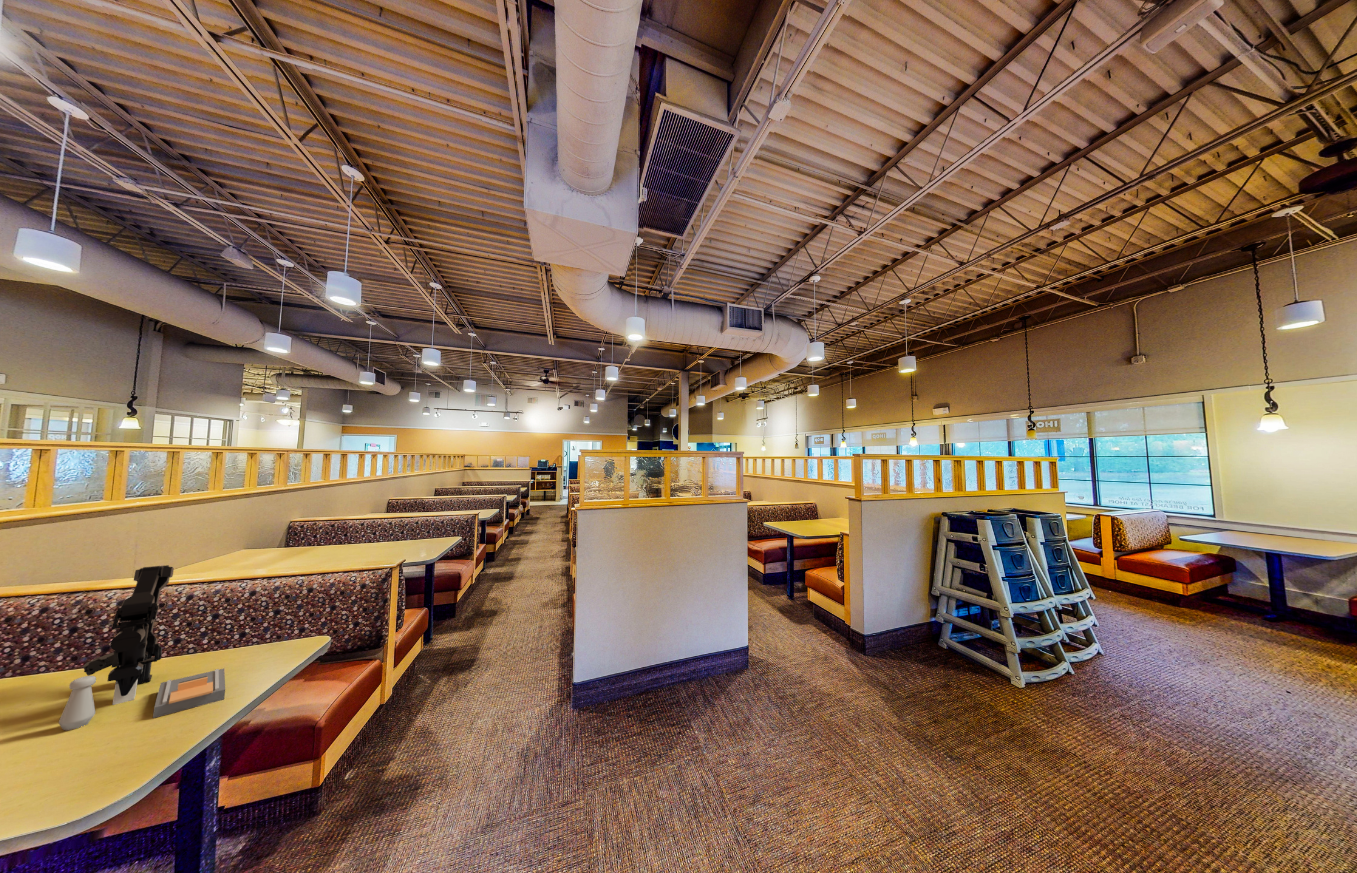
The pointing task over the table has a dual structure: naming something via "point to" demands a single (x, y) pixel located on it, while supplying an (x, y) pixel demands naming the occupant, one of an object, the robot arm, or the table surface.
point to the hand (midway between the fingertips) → (125, 693)
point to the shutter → (191, 690)
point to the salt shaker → (79, 704)
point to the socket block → (167, 687)
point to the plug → (128, 697)
